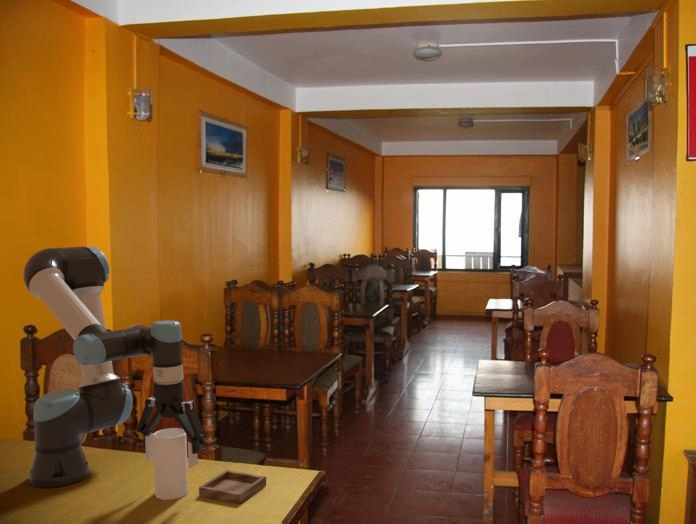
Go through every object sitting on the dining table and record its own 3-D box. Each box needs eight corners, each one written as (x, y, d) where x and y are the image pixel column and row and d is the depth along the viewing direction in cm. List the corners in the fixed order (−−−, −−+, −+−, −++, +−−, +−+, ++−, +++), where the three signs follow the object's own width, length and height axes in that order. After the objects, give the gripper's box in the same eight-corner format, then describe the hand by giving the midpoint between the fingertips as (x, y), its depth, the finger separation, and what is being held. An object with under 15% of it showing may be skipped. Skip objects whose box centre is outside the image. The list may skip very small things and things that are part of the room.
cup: (148, 496, 168) (146, 435, 167) (170, 484, 176) (169, 426, 175) (172, 502, 165) (170, 440, 164) (194, 490, 172) (192, 430, 171)
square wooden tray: (199, 496, 168) (199, 487, 168) (226, 478, 180) (226, 470, 180) (240, 503, 163) (240, 494, 163) (266, 485, 175) (266, 476, 175)
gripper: (120, 381, 170) (123, 461, 171) (199, 388, 160) (202, 473, 161) (140, 374, 177) (143, 452, 178) (217, 381, 167) (220, 463, 168)
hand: (171, 462), depth 169 cm, fingers open, 13 cm apart
